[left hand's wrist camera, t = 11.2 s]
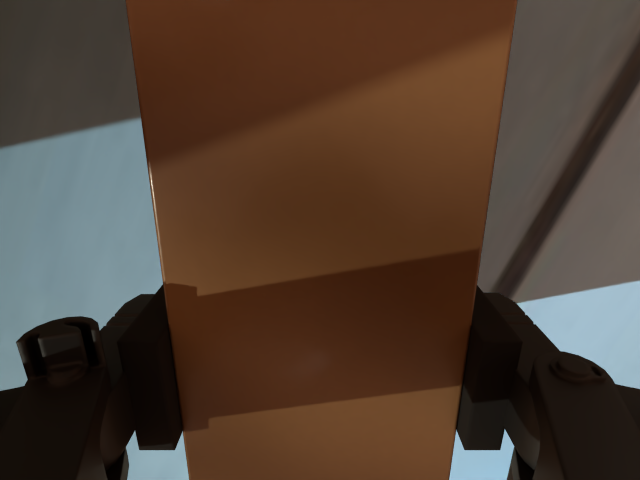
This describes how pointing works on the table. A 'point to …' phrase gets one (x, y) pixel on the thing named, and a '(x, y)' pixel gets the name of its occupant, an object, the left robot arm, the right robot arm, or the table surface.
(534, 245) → the table surface
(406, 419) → the cabinet
